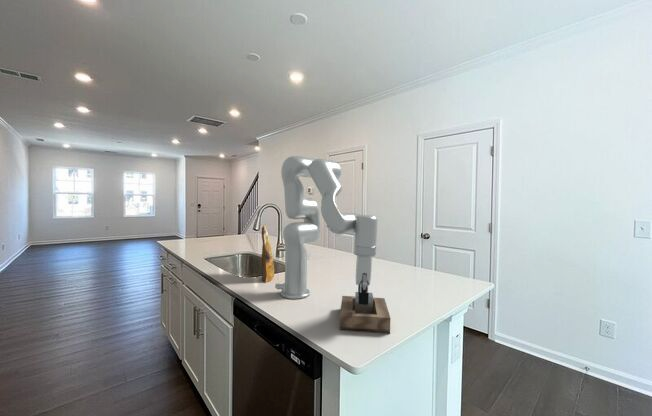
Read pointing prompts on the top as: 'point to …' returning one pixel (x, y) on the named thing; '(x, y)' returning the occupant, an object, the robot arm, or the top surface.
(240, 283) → the top surface
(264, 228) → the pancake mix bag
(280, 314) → the top surface
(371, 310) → the tall blue-grey block
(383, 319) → the walnut well
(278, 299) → the top surface
